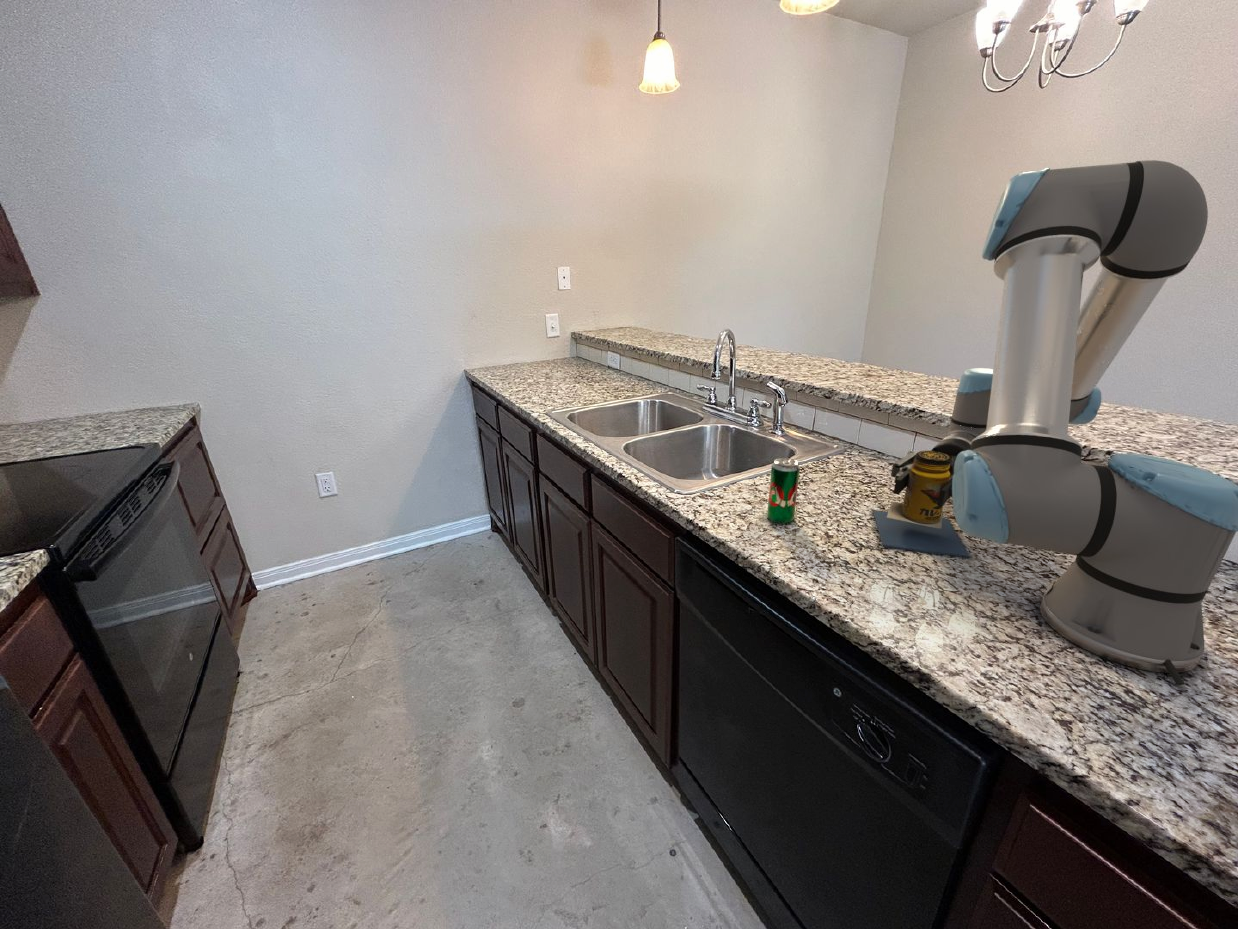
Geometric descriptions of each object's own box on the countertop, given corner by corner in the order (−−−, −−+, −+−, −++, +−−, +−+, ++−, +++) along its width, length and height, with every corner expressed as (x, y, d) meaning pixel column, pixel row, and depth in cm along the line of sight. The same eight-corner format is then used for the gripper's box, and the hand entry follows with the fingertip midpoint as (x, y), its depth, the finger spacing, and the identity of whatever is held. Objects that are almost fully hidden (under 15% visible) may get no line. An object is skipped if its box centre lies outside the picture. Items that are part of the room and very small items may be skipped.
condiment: (941, 529, 85) (956, 464, 81) (886, 518, 90) (897, 456, 85) (942, 512, 91) (957, 451, 87) (891, 502, 96) (902, 443, 91)
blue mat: (969, 558, 83) (970, 556, 83) (882, 546, 87) (883, 544, 87) (947, 520, 95) (948, 518, 95) (872, 512, 99) (873, 510, 99)
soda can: (790, 513, 100) (797, 457, 95) (796, 525, 95) (803, 466, 91) (764, 512, 100) (769, 456, 96) (769, 524, 95) (774, 466, 91)
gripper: (1008, 485, 94) (980, 530, 79) (899, 462, 107) (857, 496, 92) (1018, 448, 92) (991, 487, 76) (906, 428, 104) (863, 458, 89)
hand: (918, 492), depth 84 cm, fingers closed on condiment, 6 cm apart
